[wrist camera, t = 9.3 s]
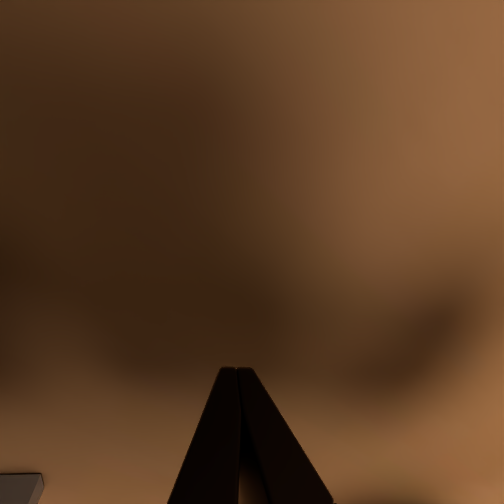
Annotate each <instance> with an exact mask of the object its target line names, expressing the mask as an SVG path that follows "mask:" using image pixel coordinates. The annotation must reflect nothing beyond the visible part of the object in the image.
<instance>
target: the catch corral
mask: <svg viewBox="0 0 504 504" xmlns="http://www.w3.org/2000/svg"><path fill="white" fill-rule="evenodd" d="M43 489H44V486H43V482H42V477H41V474H26V475H0V504H38V502H39V499H40V497H41V494H42V492H43Z"/></svg>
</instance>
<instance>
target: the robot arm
mask: <svg viewBox="0 0 504 504" xmlns="http://www.w3.org/2000/svg"><path fill="white" fill-rule="evenodd" d="M333 503H334V499H333V497H332V496H331V494H330V493H329V491H328V489H327V488H326V486H325V484H324V483H323V481H322V480H321V478H320V476H319V475H318V473H317V472H316V470H315V468H314V467H313V465H312V463H311V462H310V460H309V459H308V457H307V455H306V454H305V452H304V450H303V449H302V447H301V446H300V444H299V442H298V441H297V439H296V438H295V436H294V434H293V433H292V431H291V429H290V428H289V426H288V425H287V423H286V421H285V420H284V418H283V417H282V415H281V413H280V412H279V410H278V408H277V407H276V405H275V404H274V402H273V400H272V399H271V397H270V396H269V394H268V392H267V391H266V389H265V387H264V386H263V384H262V383H261V381H260V379H259V378H258V376H257V375H256V373H255V371H254V370H253V369H252V368H250V367H238V368H237V369H236V368H235V367H221V368H220V369H219V372H218V374H217V377H216V379H215V382H214V385H213V387H212V390H211V392H210V395H209V397H208V400H207V402H206V405H205V408H204V410H203V413H202V415H201V418H200V420H199V423H198V425H197V428H196V430H195V433H194V436H193V438H192V441H191V443H190V446H189V448H188V451H187V453H186V456H185V459H184V461H183V464H182V466H181V469H180V471H179V474H178V476H177V479H176V482H175V484H174V487H173V489H172V492H171V494H170V497H169V499H168V502H167V504H333ZM334 504H336V503H334Z"/></svg>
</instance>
